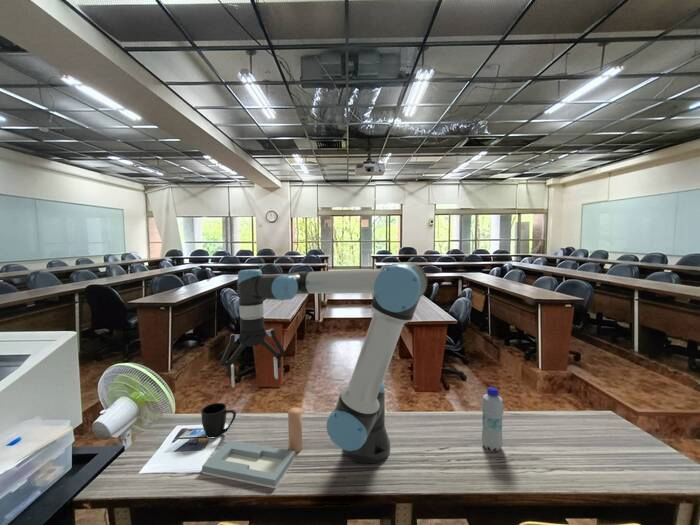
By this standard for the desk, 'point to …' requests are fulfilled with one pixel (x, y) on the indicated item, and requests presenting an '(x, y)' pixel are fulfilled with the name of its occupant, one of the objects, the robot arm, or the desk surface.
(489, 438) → the bottle
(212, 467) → the keyhole board
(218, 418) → the mug
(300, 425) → the peg
